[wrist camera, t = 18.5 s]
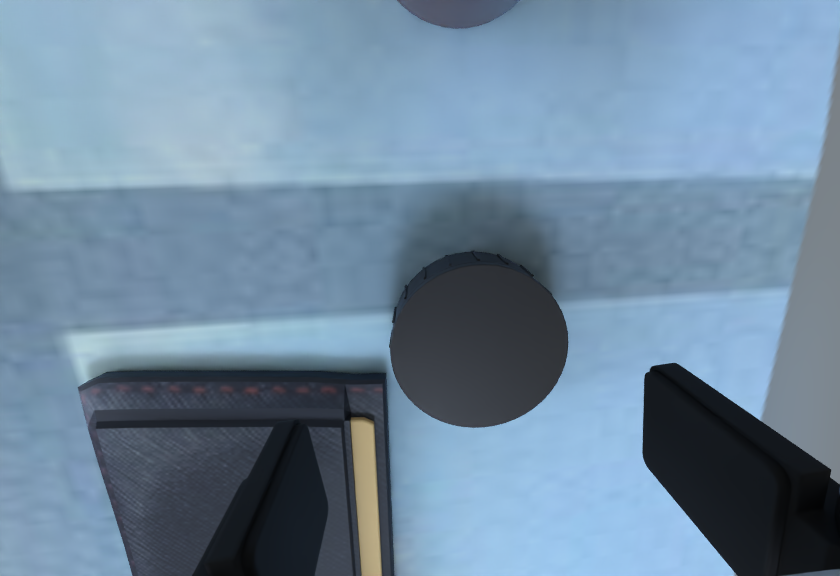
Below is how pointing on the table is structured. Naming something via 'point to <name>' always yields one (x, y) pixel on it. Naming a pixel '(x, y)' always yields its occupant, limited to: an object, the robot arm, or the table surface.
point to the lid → (477, 340)
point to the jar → (458, 11)
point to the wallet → (238, 458)
